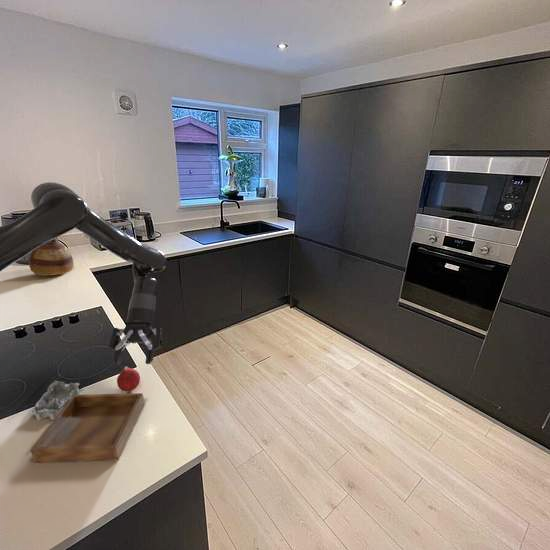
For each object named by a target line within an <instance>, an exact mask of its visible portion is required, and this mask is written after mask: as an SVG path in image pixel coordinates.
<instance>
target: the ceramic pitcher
mask: <svg viewBox="0 0 550 550" xmlns="http://www.w3.org/2000/svg"><path fill="white" fill-rule="evenodd" d="M29 254H30V255H29V258H28V267H29V269H30V270H31V273H33V274H34V275H38V276H43V277H45V276H49V275H50V276H57V274H58V275H63V274H66V273H69V272H71V271H72V270H73V269H74V265H75V263H74V259H73V255H72V254H71V252H70V250H69V249H68V247H67V246H65V244H63V243H61V242H59V241H58V239H57V238H55V239H53V240H51V241H49V242H47V243H45V244H43V245H41V246H40V247H38V248H36V249H35V250H33V251H32V252H30V253H29Z"/></svg>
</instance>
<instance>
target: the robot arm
mask: <svg viewBox="0 0 550 550" xmlns="http://www.w3.org/2000/svg"><path fill="white" fill-rule="evenodd" d="M30 201H31V204H32V207H33V209H32V210H29V211H28V212H27V213H24V215H22V216H21V217H18V218H17V219H15V220H14V221H12V222H10V223H7V224H4V225H1V226H0V273H1V272H2V271H3V270H5V269H7V268H8V267H10V266H11V265H12V264H15V263H16V262H18V261H20V260H21V259H22V258H24V257H25V256H27V255H29V254H31V252H32V251H33V250H35V249H36V248H38V247H40V246H41V245H43V244H45V243H47V242H49V241H51V240H53V239H55V238H56V239H57V238H59V237H60V236H63V235H65V234H66V233H69V232H70V231H72V230H74V229H76V230H78V231H79V232H81V233H83V234H84V235H86V236H87V237H89V238H90V239H92V240H93V241H95V242H96V243H97V244H98V245H100V246H101V247H103V248H104V249H105V250H107V251H108V252H110V253H112V254H113V255H115V256H116V257H118V258H120V259H122V260H123V261H125V262H129V263H132V265H131V266H132V275H133V288H132V294H131V297H130V301H129V305H128V310H127V315H126V320H125V327H124V328H118V327H114V328H113V330H112V334H111V338H110V341H109V345H108V348H110V349H112V350H114V355H113V362H114V364H115V365H121V364H122V358H123V354H124V349H125V348H127V347H128V346H129V345H130V344H145V346H146V347H147V350H146V355H145V362H144V363H145V364H146V365H151V363H152V362H153V361H154V356H155V351H156V350H160V349H162V345H163V332H164V331H163V329H162V328H161V327H156V328H153V325H154V319H155V312H156V309H157V294H158V287H159V286H158V285H159V283H158V280H156V278H154V277H151V276H149V275H150V274H152V273H158V272H162V271H164V270H165V269H166V267H167V264H168V263H167V262H168V261H167V258H166V255H165V254H164V252H162V251H161V250H159V249H158V248H155V247H153V246H150V245H148V244H145V243H142V242H139V241H138V240H137V239H136V238H134V237H133V236H131V235H130V234H128V233H126V231H123V230H122V229H120V228H119V227H117V226H116V225H114V224H112V223H110V222H109V221H108V220H106V219H104V218H103V217H102V216H100V214H97V213H96V212H95V211H93V210H92V209H91V208H89V207H88V205H87V203H86V202H85V200H84V199H82V197H81V196H79V194H77V193H76V192H75V191H74V190H73V189H71V188H70V187H68V186H67V185H64V184H62V183H58V182H53V181H52V182H51V181H49V182H42V183H40V184H38V185H37V186H36V187H34V189H33V190H32V192H31V194H30ZM122 335H124V336H123V337H122V339H120V338H121V336H122ZM152 335H154V336H155V338H154V339H155V340H154V344H153V341H152V340H151V339H150V337H151V336H152Z"/></svg>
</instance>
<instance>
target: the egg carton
mask: <svg viewBox="0 0 550 550" xmlns="http://www.w3.org/2000/svg"><path fill="white" fill-rule="evenodd" d="M80 384H81V383H80V382H74V383H73V382H69V383H66V382H64V381H59V380H56V379H55V380H53V382H51V384H50V385H48V387H47V389H46V392H45V393H43V394H42V396H41V397H40V398H39V400H37V402H36V403H35V405H34V406H33V408H32V410H30V412H29V414H32V415H34V417H35V418H36V421H42V420H43V419H45V418H48V417H49V418H50V420H51V421H54V419H55V418H56V417H57V416H58V414H59V413H60V412H61V410H62V409H63V408H64V407H65V405H66V404H67V403H68V402H69V400H70V399H71V398H72V397H73V395H81V390H80V389H79V386H80Z"/></svg>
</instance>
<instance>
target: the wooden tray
mask: <svg viewBox="0 0 550 550" xmlns="http://www.w3.org/2000/svg"><path fill="white" fill-rule="evenodd" d="M144 399H145V398H144V394H143V393H142V392H141V393H140V392H139V393H100V394H99V393H93V394H92V393H91V394H90V393H89V394H87V393H86V394H79V395H73V397H72V398H71V399H70V400H69V402H68V403H67V404H66V405H65V407H64V408H63V409H62V410H61V412H60V413H59V414H58V416H57V417H56V418H55V419H54V420H52V422H51V423H50V425H48V426H47V428H46V430H44V432H43V433H42V434H41V436H40V437H39V438H38V439H37V441H36V442H35V443H34V445H33V446H32V447H31V448H30V450H29V451H30V454H31V456H32V459H33V461H34V463H35V464H42V463H46V464H47V463H70V462H71V463H75V462H101V461H102V462H103V461H106V462H107V461H119V460H120V458H121V456H122V454H123V452H124V449H125V448H126V446H127V443H128V441H129V439H130V437H131V434H132V432H133V431H134V429H135V426H136V425H137V422H138V420H139V418H140V416H141V414H142V412H143V409H144V407H145V404H146V403H145V400H144Z"/></svg>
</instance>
